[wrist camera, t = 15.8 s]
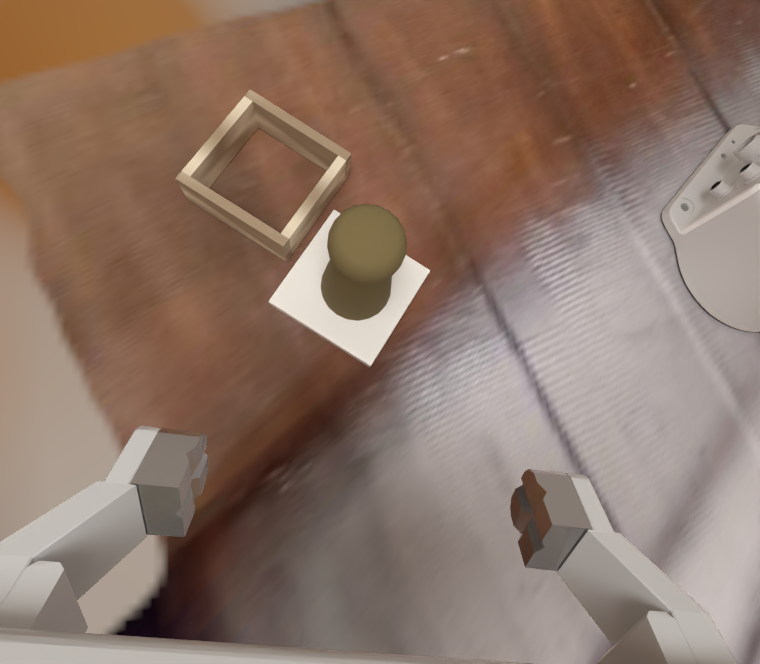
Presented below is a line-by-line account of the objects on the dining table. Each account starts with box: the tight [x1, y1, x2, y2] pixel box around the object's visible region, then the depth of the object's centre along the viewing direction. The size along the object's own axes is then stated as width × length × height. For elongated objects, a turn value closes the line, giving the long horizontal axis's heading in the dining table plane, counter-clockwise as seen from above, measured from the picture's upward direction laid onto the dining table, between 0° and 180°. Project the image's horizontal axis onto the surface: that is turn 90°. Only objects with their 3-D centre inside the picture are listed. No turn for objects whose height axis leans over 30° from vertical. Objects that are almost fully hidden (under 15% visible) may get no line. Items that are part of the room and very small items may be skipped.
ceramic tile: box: [269, 210, 430, 368], centre depth 39 cm, size 10×10×1 cm
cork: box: [321, 204, 407, 321], centre depth 33 cm, size 6×6×11 cm
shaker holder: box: [175, 90, 351, 262], centre depth 39 cm, size 10×10×4 cm
